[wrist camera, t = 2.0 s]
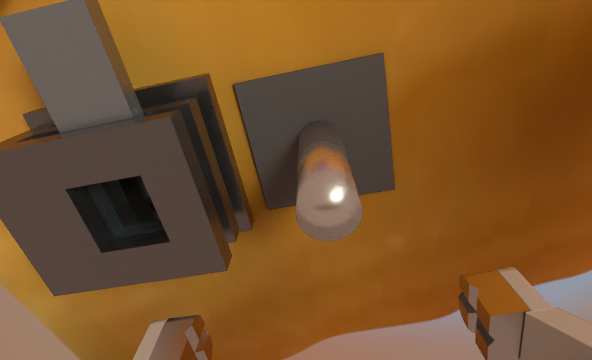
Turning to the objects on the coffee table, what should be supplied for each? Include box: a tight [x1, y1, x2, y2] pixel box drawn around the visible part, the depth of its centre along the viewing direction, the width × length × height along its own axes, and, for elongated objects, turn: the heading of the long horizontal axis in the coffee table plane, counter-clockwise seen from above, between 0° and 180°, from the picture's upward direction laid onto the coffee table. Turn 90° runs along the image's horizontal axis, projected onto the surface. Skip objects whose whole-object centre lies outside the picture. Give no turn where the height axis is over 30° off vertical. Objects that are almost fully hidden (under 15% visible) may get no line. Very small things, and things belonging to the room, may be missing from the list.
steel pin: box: [296, 120, 363, 241], centre depth 20 cm, size 3×3×10 cm
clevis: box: [0, 0, 254, 296], centre depth 22 cm, size 13×17×7 cm
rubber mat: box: [234, 53, 395, 210], centre depth 24 cm, size 10×10×1 cm
